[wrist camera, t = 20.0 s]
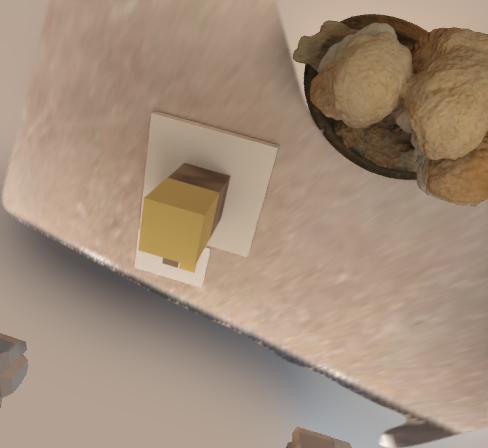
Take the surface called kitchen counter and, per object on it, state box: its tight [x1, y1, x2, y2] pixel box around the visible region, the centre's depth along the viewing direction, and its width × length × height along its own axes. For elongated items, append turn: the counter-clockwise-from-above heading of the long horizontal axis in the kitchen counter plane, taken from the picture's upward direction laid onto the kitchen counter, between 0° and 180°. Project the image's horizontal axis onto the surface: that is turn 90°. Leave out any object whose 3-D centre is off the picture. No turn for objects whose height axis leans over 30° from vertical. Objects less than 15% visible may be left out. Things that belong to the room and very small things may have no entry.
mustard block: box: [138, 178, 219, 267], centre depth 31 cm, size 5×5×5 cm
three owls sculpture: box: [293, 14, 488, 206], centre depth 25 cm, size 18×12×17 cm, turn 58°
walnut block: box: [168, 163, 231, 240], centre depth 36 cm, size 5×5×5 cm
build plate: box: [139, 111, 279, 257], centre depth 39 cm, size 13×13×1 cm
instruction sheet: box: [135, 227, 211, 288], centre depth 44 cm, size 9×6×1 cm, turn 77°
